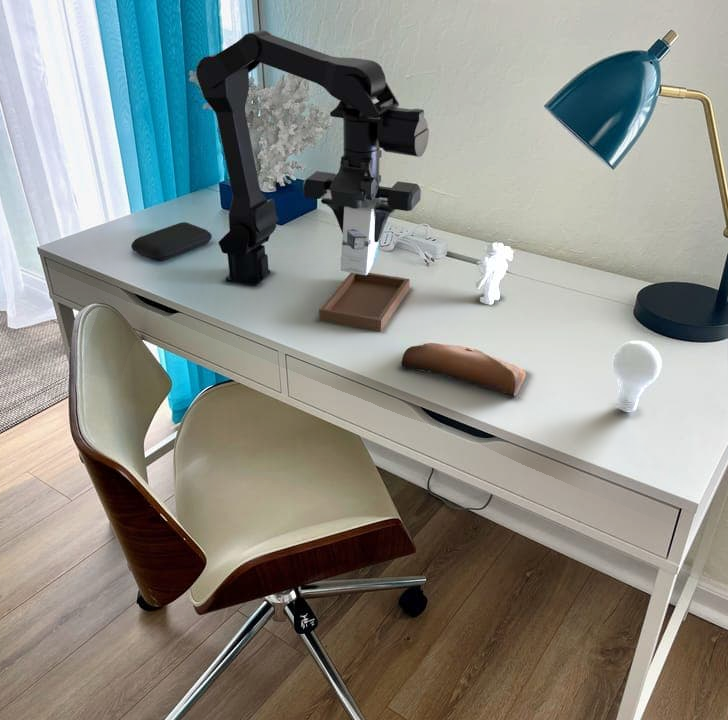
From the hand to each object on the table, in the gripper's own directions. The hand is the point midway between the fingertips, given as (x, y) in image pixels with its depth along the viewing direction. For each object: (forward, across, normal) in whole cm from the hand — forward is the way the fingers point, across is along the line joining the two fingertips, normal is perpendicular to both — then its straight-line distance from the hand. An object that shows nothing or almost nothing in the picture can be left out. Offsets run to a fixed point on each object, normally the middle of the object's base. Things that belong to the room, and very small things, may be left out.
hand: (361, 239), depth 125 cm
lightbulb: (+12, +46, -18) cm, 51 cm away
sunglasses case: (+12, +22, -16) cm, 30 cm away
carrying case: (+12, -45, +10) cm, 47 cm away
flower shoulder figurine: (+12, +21, +10) cm, 26 cm away
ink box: (+5, 0, 0) cm, 5 cm away
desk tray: (+12, +1, 0) cm, 12 cm away
